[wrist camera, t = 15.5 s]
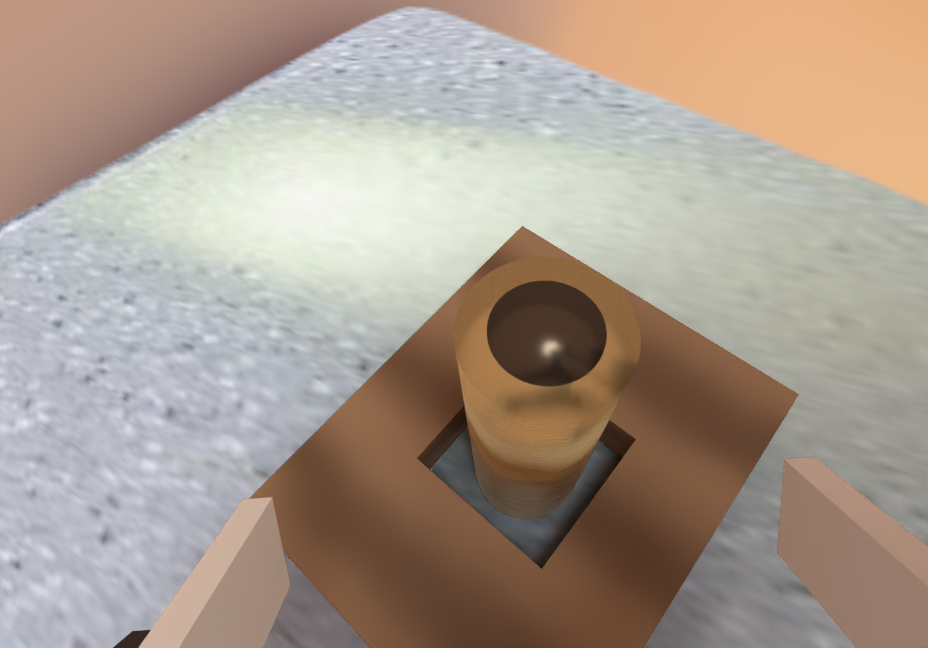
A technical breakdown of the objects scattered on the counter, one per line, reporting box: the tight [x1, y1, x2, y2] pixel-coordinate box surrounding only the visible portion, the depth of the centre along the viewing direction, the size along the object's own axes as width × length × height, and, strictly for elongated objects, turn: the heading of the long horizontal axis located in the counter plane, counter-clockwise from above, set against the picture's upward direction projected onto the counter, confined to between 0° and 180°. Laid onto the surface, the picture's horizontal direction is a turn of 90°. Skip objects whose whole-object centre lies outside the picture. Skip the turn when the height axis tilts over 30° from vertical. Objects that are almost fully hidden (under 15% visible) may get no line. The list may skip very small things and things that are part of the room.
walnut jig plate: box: [249, 226, 799, 648], centre depth 25 cm, size 20×16×3 cm
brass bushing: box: [454, 257, 641, 519], centre depth 20 cm, size 5×5×14 cm
